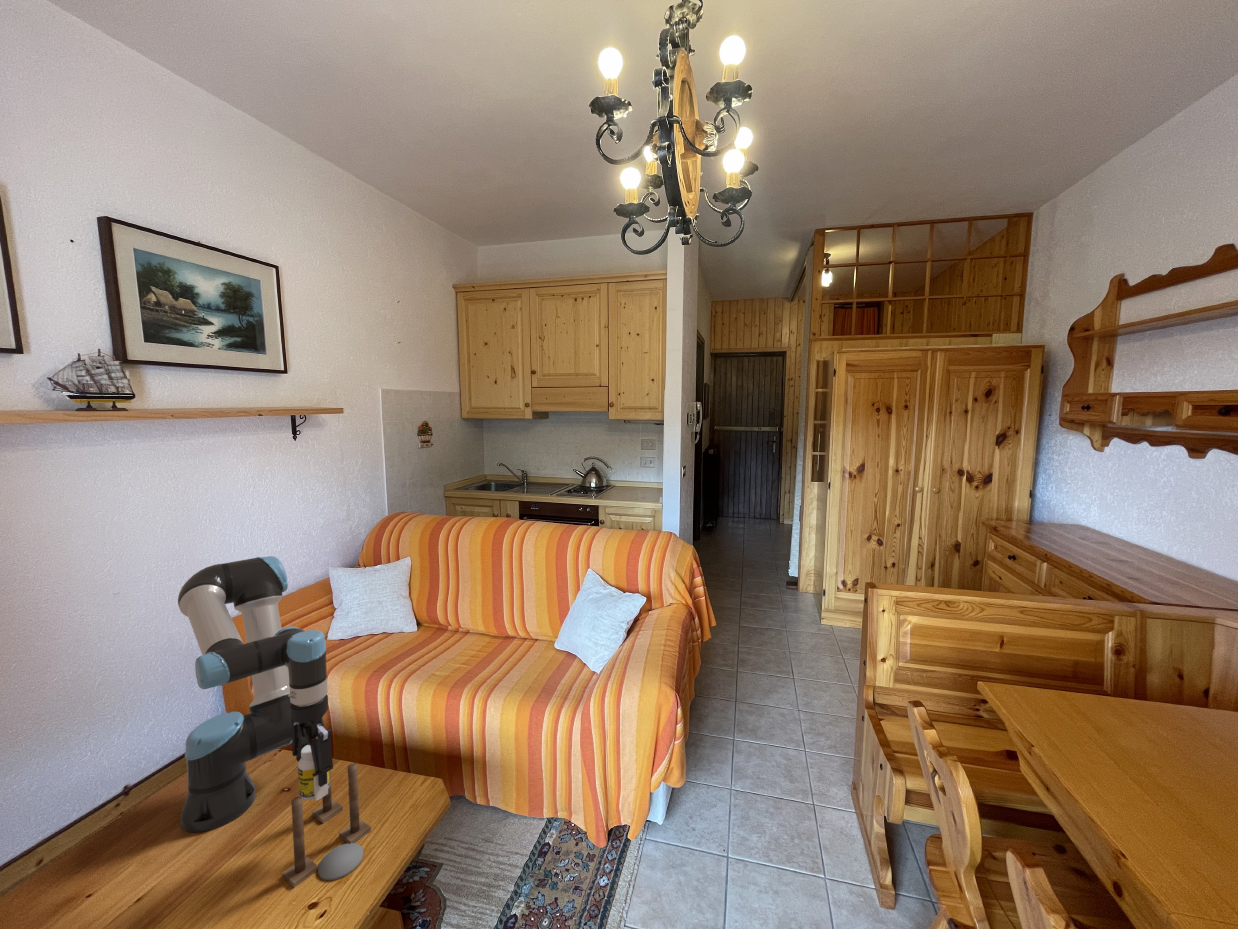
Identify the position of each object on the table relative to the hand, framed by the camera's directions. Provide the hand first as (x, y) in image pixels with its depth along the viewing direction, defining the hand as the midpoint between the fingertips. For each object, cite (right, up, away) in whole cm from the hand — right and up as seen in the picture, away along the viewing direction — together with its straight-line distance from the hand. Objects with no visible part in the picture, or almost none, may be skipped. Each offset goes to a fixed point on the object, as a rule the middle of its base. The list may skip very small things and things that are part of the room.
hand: (313, 791), depth 116 cm
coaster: (+9, -13, -5) cm, 17 cm away
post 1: (+2, -14, -7) cm, 15 cm away
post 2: (-3, -12, +10) cm, 16 cm away
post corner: (+8, -13, +3) cm, 15 cm away
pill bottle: (0, -1, 0) cm, 1 cm away
